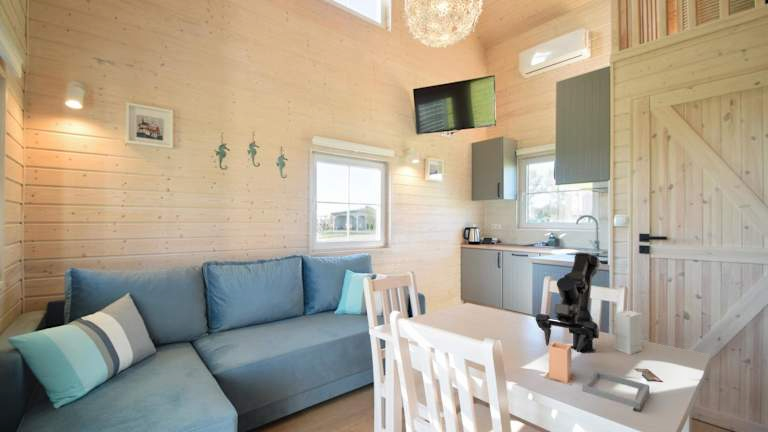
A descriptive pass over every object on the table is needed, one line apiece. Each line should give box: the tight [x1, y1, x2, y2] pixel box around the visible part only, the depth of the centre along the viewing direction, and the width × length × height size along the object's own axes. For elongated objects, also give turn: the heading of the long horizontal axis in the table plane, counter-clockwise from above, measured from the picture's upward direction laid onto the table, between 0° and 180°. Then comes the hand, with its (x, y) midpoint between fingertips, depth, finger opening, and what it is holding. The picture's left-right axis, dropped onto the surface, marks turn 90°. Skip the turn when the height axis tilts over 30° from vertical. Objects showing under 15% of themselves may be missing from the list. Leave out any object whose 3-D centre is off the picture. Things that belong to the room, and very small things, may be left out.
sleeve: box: [548, 341, 573, 382], centre depth 114 cm, size 5×5×10 cm
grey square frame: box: [581, 370, 650, 413], centre depth 105 cm, size 14×14×2 cm
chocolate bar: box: [633, 367, 664, 383], centre depth 117 cm, size 11×5×1 cm, turn 168°
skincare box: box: [614, 309, 643, 355], centre depth 138 cm, size 8×6×15 cm
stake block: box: [543, 371, 578, 386], centre depth 114 cm, size 8×8×5 cm
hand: (561, 348), depth 116 cm, fingers open, 9 cm apart
